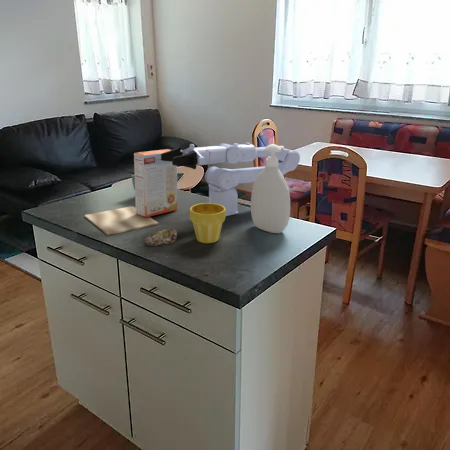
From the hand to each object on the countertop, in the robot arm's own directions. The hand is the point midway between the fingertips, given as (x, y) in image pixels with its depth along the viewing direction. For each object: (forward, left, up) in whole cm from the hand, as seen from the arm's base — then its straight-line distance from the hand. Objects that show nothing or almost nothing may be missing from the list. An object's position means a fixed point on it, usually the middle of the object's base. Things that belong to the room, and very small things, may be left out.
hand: (166, 159), depth 140 cm
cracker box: (-1, -11, -21) cm, 24 cm away
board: (+12, -11, -21) cm, 27 cm away
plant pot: (-3, +18, -21) cm, 28 cm away
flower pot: (-7, -29, -21) cm, 37 cm away
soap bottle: (-24, +22, -21) cm, 39 cm away
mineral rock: (+9, +11, -22) cm, 26 cm away
